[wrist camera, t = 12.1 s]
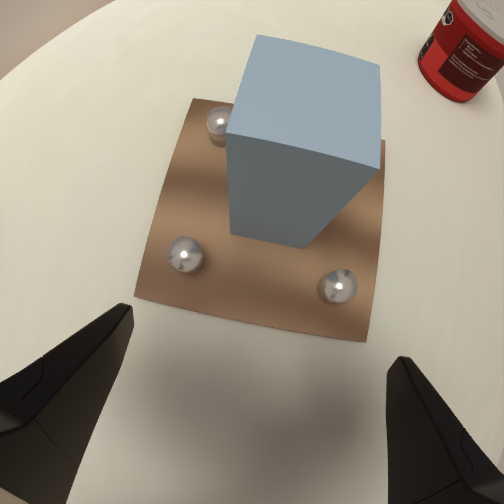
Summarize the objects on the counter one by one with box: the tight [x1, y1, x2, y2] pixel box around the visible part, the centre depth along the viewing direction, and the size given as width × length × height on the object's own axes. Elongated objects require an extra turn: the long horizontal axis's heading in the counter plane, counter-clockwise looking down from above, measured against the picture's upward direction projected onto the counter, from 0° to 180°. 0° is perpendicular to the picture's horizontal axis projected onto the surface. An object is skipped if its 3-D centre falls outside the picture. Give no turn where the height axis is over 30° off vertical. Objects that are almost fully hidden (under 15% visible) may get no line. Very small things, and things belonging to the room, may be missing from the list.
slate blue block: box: [226, 35, 381, 249], centre depth 16 cm, size 5×5×12 cm
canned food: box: [418, 0, 504, 102], centre depth 22 cm, size 8×8×11 cm
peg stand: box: [134, 98, 385, 343], centre depth 21 cm, size 16×16×3 cm
